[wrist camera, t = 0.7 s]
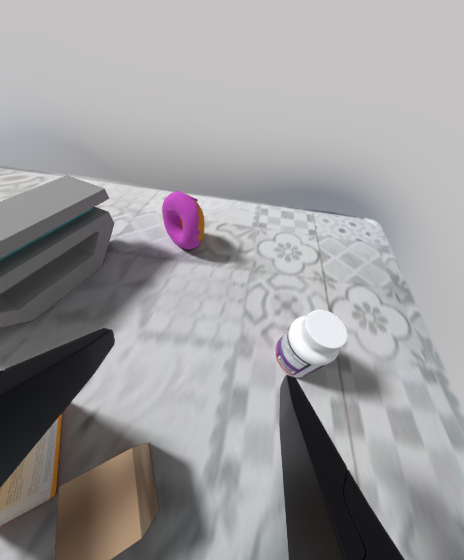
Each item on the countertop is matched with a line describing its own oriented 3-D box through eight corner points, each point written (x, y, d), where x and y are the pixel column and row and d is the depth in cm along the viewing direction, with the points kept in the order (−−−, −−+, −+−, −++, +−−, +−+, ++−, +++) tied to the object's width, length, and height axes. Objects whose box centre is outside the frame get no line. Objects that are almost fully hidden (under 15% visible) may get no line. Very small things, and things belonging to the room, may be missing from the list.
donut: (163, 258, 35) (149, 209, 27) (168, 227, 40) (157, 180, 32) (206, 257, 36) (203, 210, 28) (204, 227, 41) (202, 181, 33)
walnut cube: (159, 510, 16) (141, 538, 12) (95, 552, 15) (51, 599, 11) (149, 442, 19) (132, 447, 15) (94, 472, 17) (59, 486, 14)
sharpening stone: (100, 231, 38) (66, 175, 29) (130, 243, 36) (104, 188, 28) (-64, 338, 23) (-224, 289, 15) (-24, 367, 22) (-178, 331, 13)
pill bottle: (308, 338, 27) (345, 305, 19) (316, 379, 24) (365, 359, 16) (271, 335, 27) (294, 301, 19) (275, 376, 24) (304, 354, 16)
